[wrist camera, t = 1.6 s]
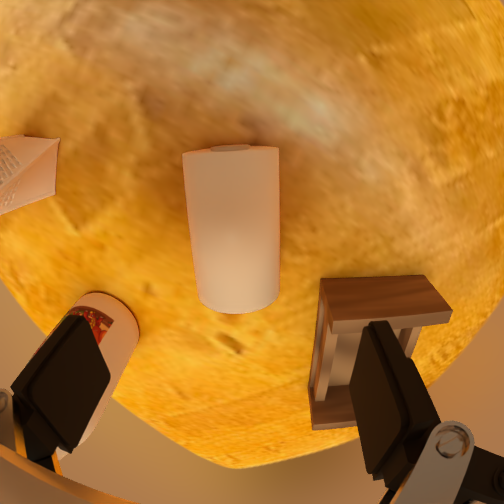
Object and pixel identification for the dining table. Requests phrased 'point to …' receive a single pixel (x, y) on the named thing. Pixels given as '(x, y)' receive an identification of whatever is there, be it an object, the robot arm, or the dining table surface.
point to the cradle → (350, 330)
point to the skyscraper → (26, 170)
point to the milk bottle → (105, 343)
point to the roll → (234, 225)
